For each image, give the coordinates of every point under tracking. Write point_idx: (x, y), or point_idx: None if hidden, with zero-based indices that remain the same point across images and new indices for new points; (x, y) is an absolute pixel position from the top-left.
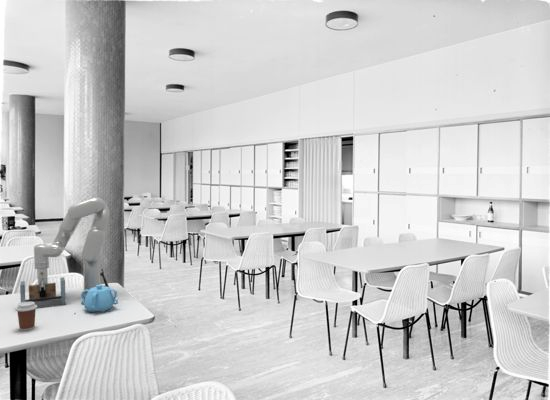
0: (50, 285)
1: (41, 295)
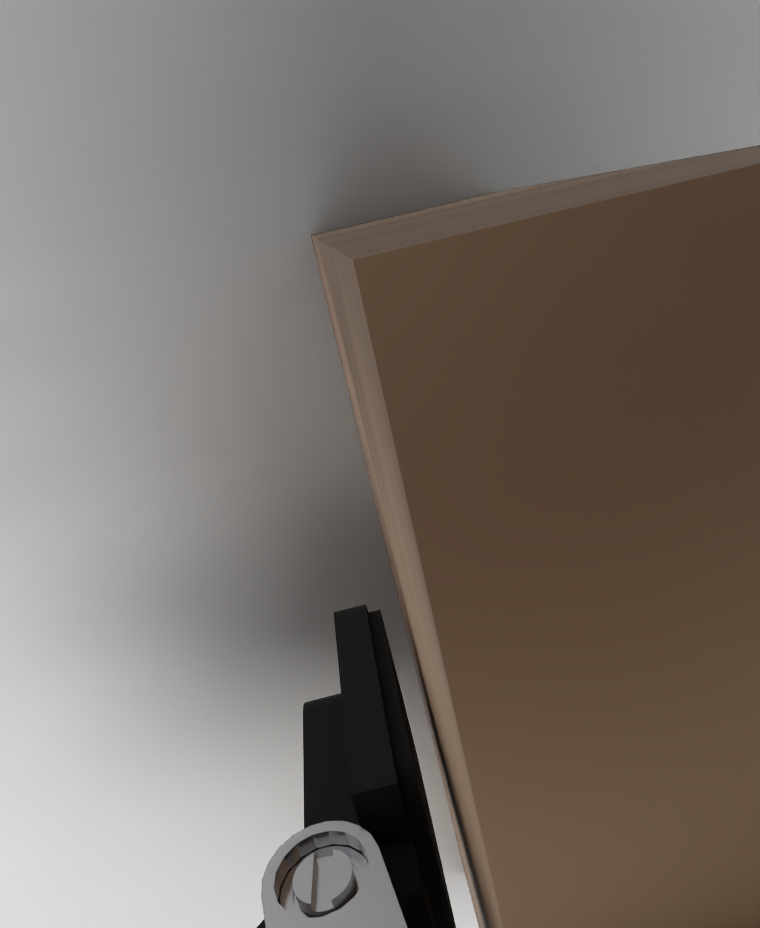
0: None
1: None
